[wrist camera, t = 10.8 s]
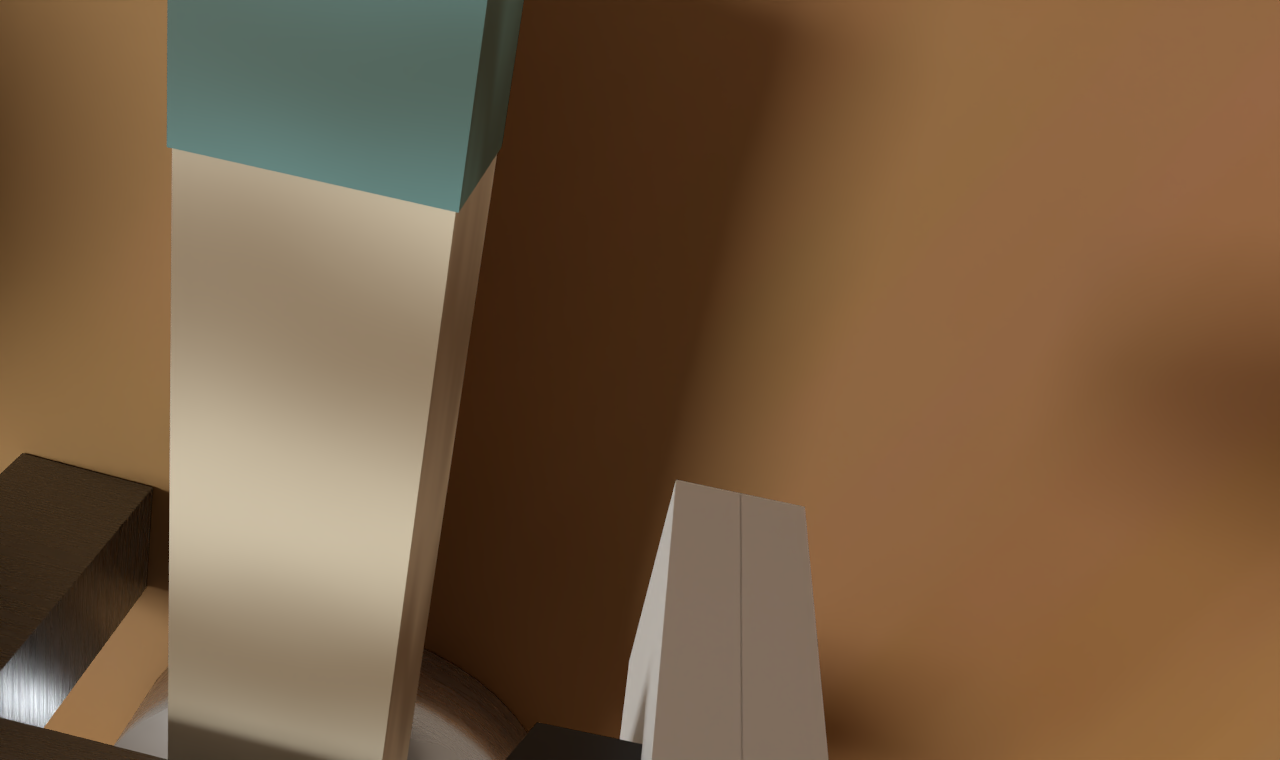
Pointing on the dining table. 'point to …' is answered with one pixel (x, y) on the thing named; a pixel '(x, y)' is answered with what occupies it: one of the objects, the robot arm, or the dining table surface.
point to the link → (318, 355)
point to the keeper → (63, 594)
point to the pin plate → (441, 730)
